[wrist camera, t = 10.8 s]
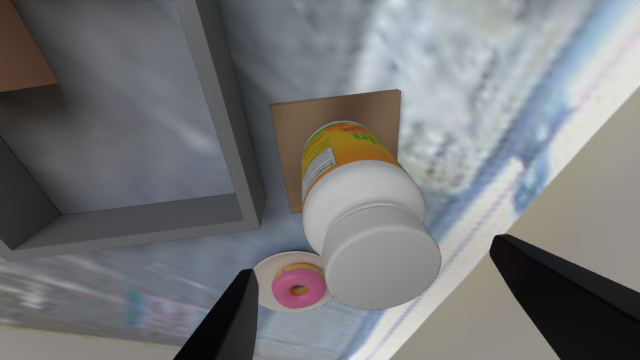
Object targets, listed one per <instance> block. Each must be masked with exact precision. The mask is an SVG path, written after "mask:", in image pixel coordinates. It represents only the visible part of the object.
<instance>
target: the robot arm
mask: <svg viewBox="0 0 640 360" xmlns="http://www.w3.org/2000/svg"><path fill="white" fill-rule="evenodd" d="M489 253H490V257H491V259H492V260H493V262H494V264H495V265H496V267H497V269H498V270H499V272H500V273H501V275H502V277H503V278H504V280H505V282H506V284H507V285H508V287H509V289H510V290H511V292H512V293H513V295H514V297H515V298H516V299H517V301H518V302H519V304H520V305H521V306H522V308H523V309H524V310H525V312H526V313H527V315H528V316H529V317H530V319H531V320H532V321H533V323H534V324H535V325H536V327H537V328H538V330H539V331H540V332H541V334H542V335H543V336H544V338H545V339H546V340H547V342H548V343H549V345H550V346H551V347H552V349H553V350H554V352H555V353H556V354H557V356H558V357H559V358H560V360H640V293H639V292H637V291H634V290H632V289H630V288H628V287H626V286H623V285H621V284H619V283H617V282H614V281H612V280H610V279H608V278H606V277H603V276H601V275H599V274H597V273H594V272H592V271H590V270H588V269H585V268H583V267H581V266H579V265H576V264H574V263H572V262H569V261H567V260H565V259H563V258H561V257H559V256H556V255H554V254H552V253H550V252H547V251H545V250H543V249H540V248H538V247H536V246H534V245H531V244H529V243H527V242H525V241H523V240H520V239H518V238H515V237H514V236H511V235H509V234H501V235H496V236H495V237H494V238H493V241H492V244H491V248H490V251H489ZM258 298H259V284H258V281H257V278H256V275H255V272H254V270H253V269H244V270H241V271H240V272H239V274H238V275H237V276H236V278H235V279H234V280H233V282H232V283H231V284H230V286H229V287H228V288H227V289H226V291H225V292H224V293H223V295H222V296H221V297H220V299H219V300H218V301H217V303H216V304H215V305H214V306H213V308H212V309H211V310H210V312H209V313H208V314H207V316H206V317H205V318H204V320H203V321H202V322H201V324H200V325H199V326H198V327H197V329H196V330H195V331H194V333H193V334H192V335H191V337H190V338H189V339H188V341H187V342H186V343H185V344H184V346H183V347H182V348H181V350H180V351H179V352H178V354H177V355H176V356H175V358H174V359H173V360H252V359H253V353H254V347H255V340H256V333H257V316H258Z"/></svg>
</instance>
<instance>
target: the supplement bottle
mask: <svg viewBox="0 0 640 360" xmlns="http://www.w3.org/2000/svg"><path fill="white" fill-rule="evenodd" d="M301 167H302V218H303V226H304V232H305V235H306V237H307V240H308V242H309V243H310V245H311V246H312V248H313V249H314V250H315V251H316V252H317V253H318V254H319V255H320V256H321V257H322V262H323V268H324V275H325V281H326V285H327V287H328V289H329V291H330V292H331V294H332V295H333V296H334V297H335V298H336V299H337V300H339V301H340V302H342V303H343V304H345V305H348V306H350V307H353V308H357V309H363V310H381V309H387V308H392V307H395V306H398V305H401V304H404V303H406V302H408V301H410V300H412V299H414V298H416V297H417V296H419V295H420V294H422V293H423V292H424V291H425V290H426V289H427V288H428V287H429V286H430V285H431V284H432V283H433V281H434V280H435V279H436V277H437V275H438V273H439V270H440V267H441V253H440V249H439V247H438V245H437V243H436V241H435V240H434V238H433V237H432V235H431V234H430V232H429V231H428V229H427V228H426V226H425V225H424V224H423V223H424V218H425V204H424V199H423V196H422V193H421V191H420V189H419V188H418V186H417V185H416V183H415V182H414V180H413V179H412V178H411V177H410V175H409V174H408V173H407V172H406V171H405V170H404V169H403V167H402V166H401V165H400V164H399V163H398V162H397V160H396V159H395V158H394V157H393V156H392V155H391V153H390V152H389V151H388V150H387V149H386V148H385V147H384V145H383V144H382V143H381V142H380V141H379V139H378V138H377V137H376V136H375V135H374V134H373V133H372V132H371V131H370V130H369V129H368V128H366V127H365V126H363V125H361V124H359V123H356V122H352V121H336V122H332V123H329V124H327V125H324V126H323V127H321V128H320V129H318V130H317V131H316V132H315V133H314V134H313V135H312V136H311V137H310V138H309V139H308V141H307V143H306V145H305V147H304V150H303V154H302V163H301Z"/></svg>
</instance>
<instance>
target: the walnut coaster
mask: <svg viewBox="0 0 640 360" xmlns="http://www.w3.org/2000/svg"><path fill="white" fill-rule="evenodd" d="M400 99H401V90H398V89H395V90H386V91H378V92H370V93H361V94H353V95H345V96H336V97H328V98H319V99H311V100H303V101H294V102H286V103H278V104H271V105H270V109H271V114H272V119H273V124H274V129H275V134H276V139H277V144H278V149H279V154H280V160H281V165H282V170H283V175H284V180H285V185H286V190H287V195H288V200H289V205H290V211H291V213H295V212H302V167H301V163H302V154H303V150H304V147H305V145H306V143H307V141H308V139H309V138H310V137H311V136H312V135H313V134H314V133H315V132H316V131H317V130H318V129H320V128H321V127H323V126H324V125H327V124H329V123H332V122H336V121H352V122H356V123H359V124H361V125H363V126H365V127H366V128H368V129H369V130H370V131H371V132H372V133H373V134H374V135H375V136H376V137H377V138H378V139H379V141H380V142H381V143H382V144H383V145H384V147H385V148H386V149H387V150H388V151H389V152H390V153H391V155H392V156H393V157H394V158H395V159H396V160H397V148H398V132H399V115H400Z"/></svg>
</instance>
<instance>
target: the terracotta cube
mask: <svg viewBox="0 0 640 360" xmlns="http://www.w3.org/2000/svg"><path fill="white" fill-rule="evenodd" d="M57 83H59V82H58V81H57V79H56V77H55V76H54V74H53V72H52V70H51V69H50V67H49V65H48V64H47V62H46V60H45V58H44V57H43V55H42V53H41V52H40V50H39V48H38V47H37V45H36V43H35V41H34V40H33V38H32V36H31V35H30V33H29V31H28V29H27V28H26V26H25V24H24V23H23V21H22V19H21V17H20V16H19V14H18V12H17V11H16V9H15V7H14V5H13V4H12V2H11V0H0V92H4V91H11V90H17V89H24V88H31V87H37V86H44V85H51V84H57Z"/></svg>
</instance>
